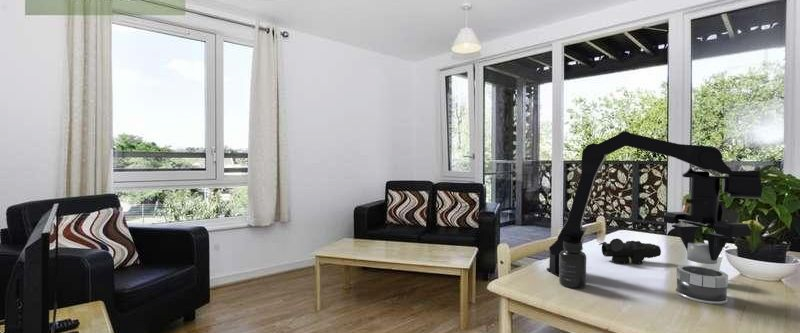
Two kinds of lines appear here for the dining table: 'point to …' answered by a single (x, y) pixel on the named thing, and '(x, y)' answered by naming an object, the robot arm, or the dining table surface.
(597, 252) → the dining table surface
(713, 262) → the grey squat block
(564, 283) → the supplement bottle
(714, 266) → the cup
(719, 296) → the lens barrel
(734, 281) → the dining table surface
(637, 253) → the night vision scope
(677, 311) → the dining table surface
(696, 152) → the robot arm
